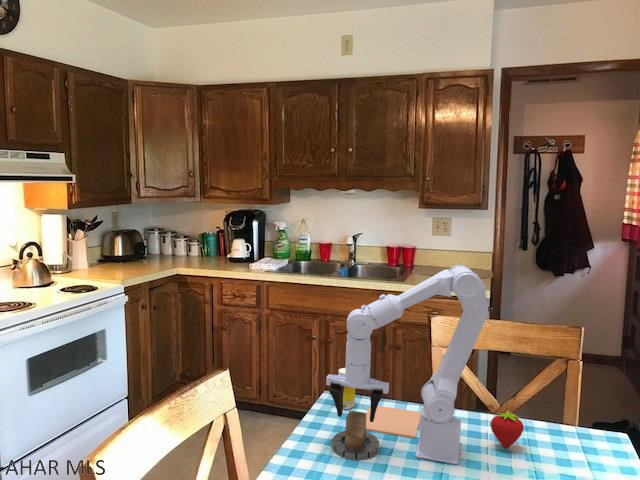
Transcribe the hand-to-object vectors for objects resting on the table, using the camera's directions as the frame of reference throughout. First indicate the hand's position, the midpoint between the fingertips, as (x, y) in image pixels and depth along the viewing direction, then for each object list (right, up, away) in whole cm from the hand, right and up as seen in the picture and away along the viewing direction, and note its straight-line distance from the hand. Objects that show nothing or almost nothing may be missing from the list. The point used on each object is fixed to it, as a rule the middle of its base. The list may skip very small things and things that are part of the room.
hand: (356, 417), depth 120 cm
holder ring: (0, -7, +1) cm, 7 cm away
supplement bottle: (-2, -5, +23) cm, 24 cm away
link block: (0, -7, +1) cm, 7 cm away
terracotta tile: (+10, -6, +14) cm, 19 cm away
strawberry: (+36, -8, +2) cm, 37 cm away
